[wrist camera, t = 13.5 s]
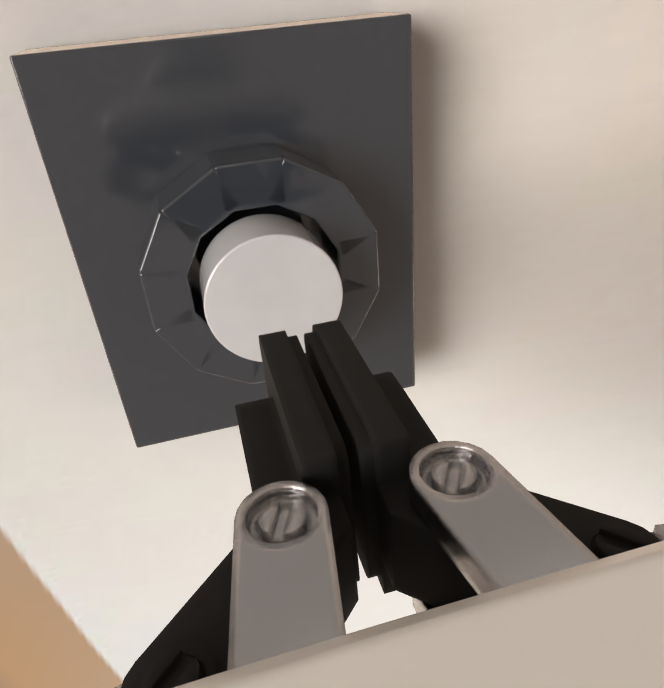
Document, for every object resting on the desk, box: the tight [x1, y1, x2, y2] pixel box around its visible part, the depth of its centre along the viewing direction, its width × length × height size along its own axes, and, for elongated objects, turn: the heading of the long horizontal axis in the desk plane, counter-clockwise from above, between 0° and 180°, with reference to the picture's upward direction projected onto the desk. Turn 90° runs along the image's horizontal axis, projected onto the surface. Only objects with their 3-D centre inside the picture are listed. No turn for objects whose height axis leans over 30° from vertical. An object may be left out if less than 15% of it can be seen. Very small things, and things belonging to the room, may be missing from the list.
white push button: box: [199, 214, 343, 362], centre depth 16 cm, size 4×4×2 cm
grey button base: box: [10, 12, 415, 447], centre depth 18 cm, size 12×10×4 cm
